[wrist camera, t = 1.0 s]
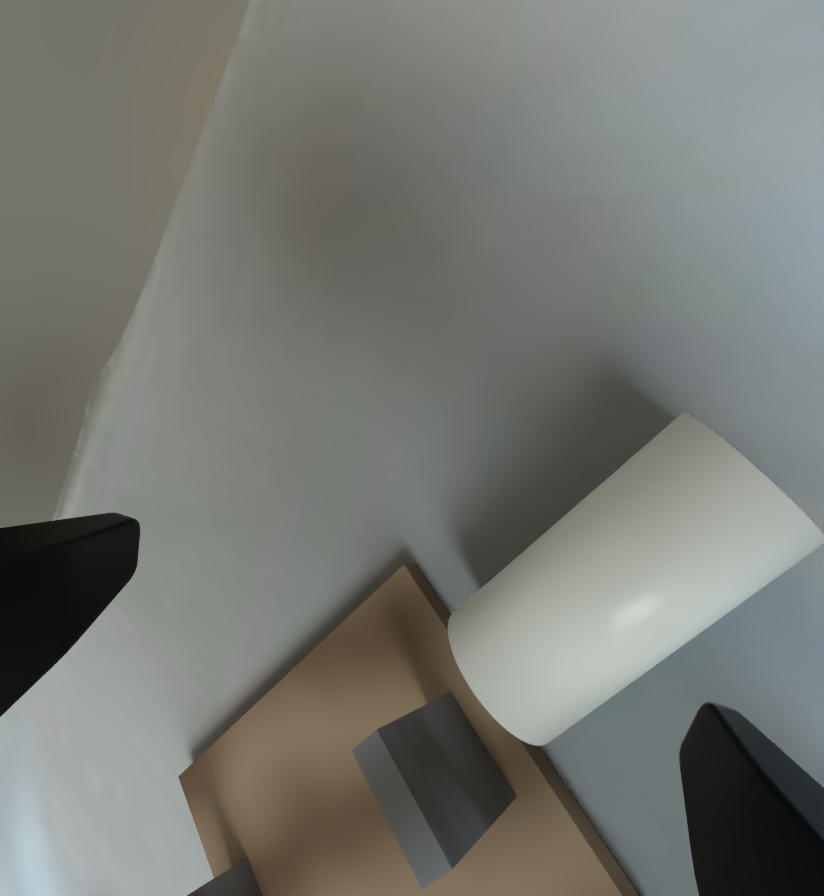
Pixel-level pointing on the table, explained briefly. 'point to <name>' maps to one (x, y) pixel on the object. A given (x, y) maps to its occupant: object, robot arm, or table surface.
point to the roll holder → (388, 778)
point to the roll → (625, 580)
